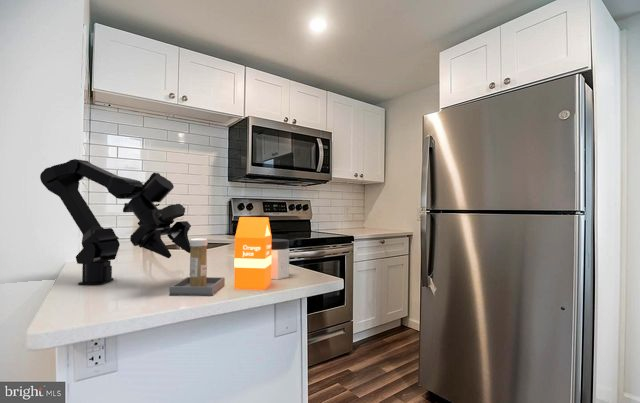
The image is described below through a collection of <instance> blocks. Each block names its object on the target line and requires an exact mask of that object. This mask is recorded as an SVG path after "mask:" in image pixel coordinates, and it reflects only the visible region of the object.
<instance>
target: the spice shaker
mask: <svg viewBox="0 0 640 403" xmlns="http://www.w3.org/2000/svg"><path fill="white" fill-rule="evenodd" d="M189 242H190V246H191V247H190V248H191V249H190V253H189V255H190V256H189V277H190V286H191V287H207V283H206V277H207V274H208V270H207V269H208V268H207V267H208V265H207V264H208V257H207V256H208V255H207V252H208V251H207V250H208V242H209V241H208V239H207V238H205V237H201V238H200V237H199V238H198V237H197V238H196V237H195V238H191V239H190V240H189Z"/></svg>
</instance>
